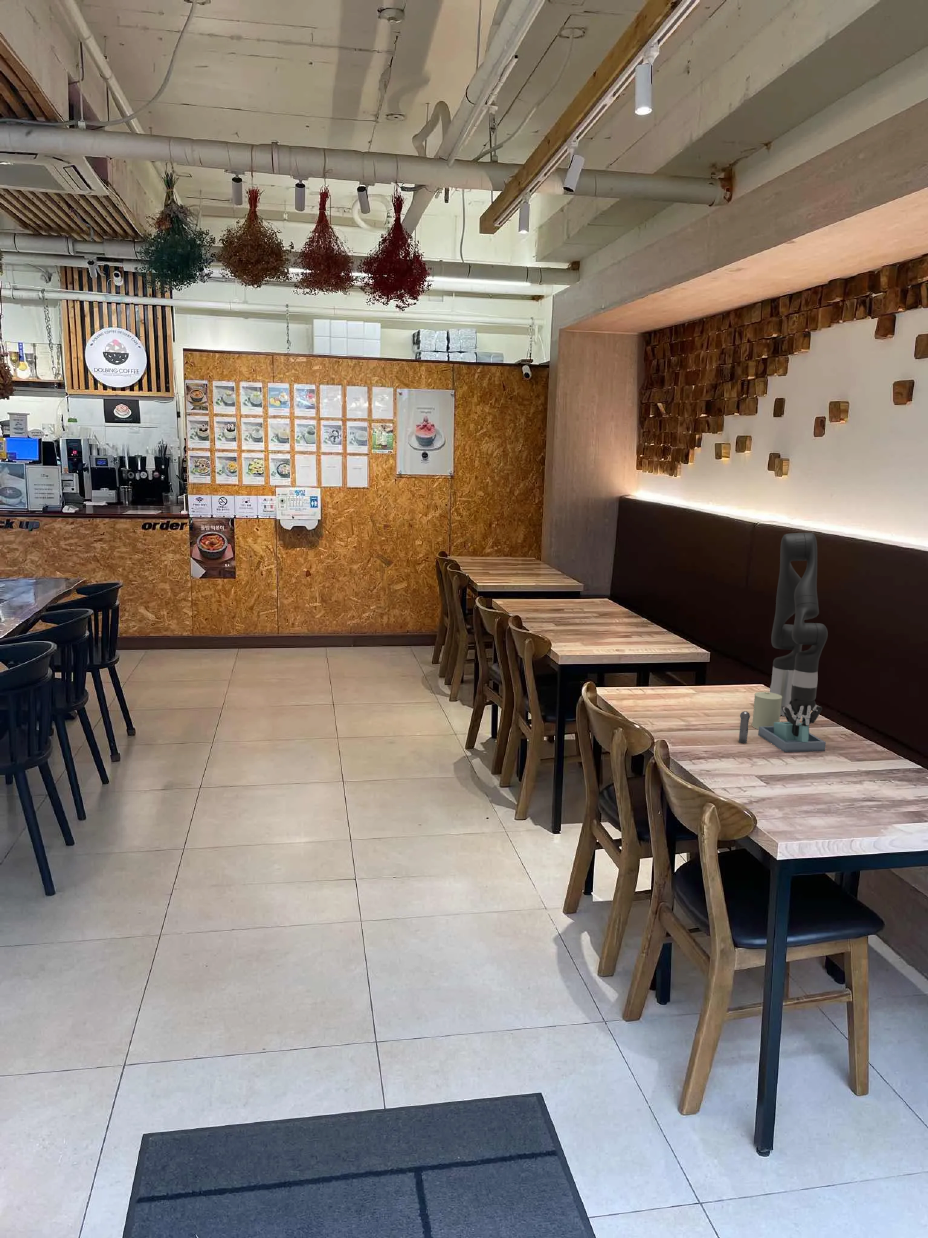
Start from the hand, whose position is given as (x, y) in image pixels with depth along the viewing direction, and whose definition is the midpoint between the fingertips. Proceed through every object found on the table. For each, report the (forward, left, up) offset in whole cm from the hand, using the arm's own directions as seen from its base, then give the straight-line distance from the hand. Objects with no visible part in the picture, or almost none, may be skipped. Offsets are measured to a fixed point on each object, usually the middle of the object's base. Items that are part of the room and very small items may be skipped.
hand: (799, 735), depth 284 cm
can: (-22, 0, -4) cm, 22 cm away
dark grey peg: (-7, -16, -4) cm, 18 cm away
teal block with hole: (-2, 0, -2) cm, 3 cm away
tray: (-5, 0, -4) cm, 6 cm away
